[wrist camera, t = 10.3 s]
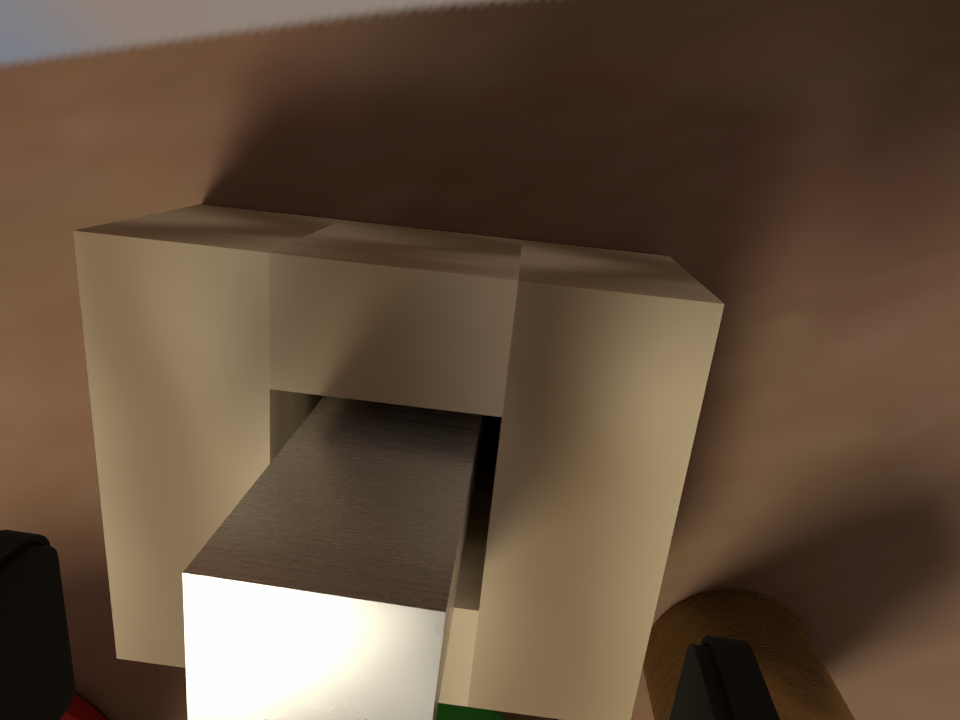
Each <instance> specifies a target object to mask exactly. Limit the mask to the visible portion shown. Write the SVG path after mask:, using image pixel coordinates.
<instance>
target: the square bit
mask: <svg viewBox="0 0 960 720" xmlns="http://www.w3.org/2000/svg"><path fill="white" fill-rule="evenodd" d="M483 420H484V415H480V414H471V413H463V412H455V411H447V410H438V409H430V408H422V407H413V406H405V405H397V404H389V403H380V402H372V401H364V400H355V399H347V398H339V397H331V396H323V398H322V399H321V400H320V401H319V403H318V404H317V405H316V406H315V408H314V409H313V410H312V411H311V413H310V414H309V415H308V416H307V418H306V419H305V420H304V421H303V423H302V424H301V425H300V426H299V428H298V429H297V430H296V431H295V433H294V434H293V435H292V437H291V438H290V439H289V440H288V442H287V443H286V444H285V445H284V447H283V448H282V449H281V450H280V452H279V453H278V454H277V455H276V457H275V458H274V459H273V460H272V462H271V463H270V464H269V465H268V467H267V468H266V469H265V470H264V472H263V473H262V474H261V475H260V477H259V478H258V479H257V480H256V482H255V483H254V484H253V485H252V487H251V488H250V489H249V490H248V492H247V493H246V494H245V495H244V497H243V498H242V499H241V500H240V502H239V503H238V504H237V505H236V507H235V508H234V509H233V510H232V512H231V513H230V514H229V515H228V517H227V518H226V519H225V520H224V522H223V523H222V524H221V525H220V527H219V528H218V529H217V530H216V532H215V533H214V534H213V535H212V537H211V538H210V539H209V540H208V542H207V543H206V544H205V545H204V547H203V548H202V549H201V550H200V552H199V553H198V554H197V555H196V557H195V558H194V559H193V560H192V562H191V563H190V564H189V565H188V567H187V568H186V569H185V570H184V572H183V601H184V631H185V660H186V690H187V719H188V720H436V715H437V709H438V703H439V697H440V691H441V685H442V679H443V673H444V667H445V661H446V655H447V649H448V642H449V636H450V630H451V624H452V618H453V612H454V606H455V600H456V594H457V588H458V582H459V576H460V569H461V563H462V557H463V551H464V545H465V539H466V533H467V527H468V521H469V515H470V509H471V503H472V496H473V490H474V484H475V478H476V472H477V465H478V457H479V450H480V442H481V435H482V427H483Z"/></svg>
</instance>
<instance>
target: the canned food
mask: <svg viewBox="0 0 960 720" xmlns="http://www.w3.org/2000/svg"><path fill="white" fill-rule="evenodd" d="M60 720H106V719H105V717H104V716H103V715H102V714H101V713H99V712H98V711H97V710H96V709H95V708H94V707H93V706H92V705H91V704H90V703H89V702H87V701H86V700H84V699H83V698H81V697H80V696H78V695H77V694H75V693H74V696H73V699H72V701H71V704H70V706H69V707H68V709H67V711H66V712H65V714H64V715H63V716H62V717H61V719H60Z"/></svg>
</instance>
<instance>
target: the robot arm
mask: <svg viewBox="0 0 960 720" xmlns="http://www.w3.org/2000/svg"><path fill="white" fill-rule="evenodd" d="M74 691H75V682H74V675H73V667H72V659H71V652H70V644H69V636H68V628H67V621H66V613H65V605H64V598H63V590H62V582H61V575H60V567H59V559H58V554H57V551H56V550H55V549H54V548H53V547H51V546H50V543H49V540H48V539H47V538H46V537H45V536H42V535H38V534H31V533H25V532H18V531H11V530H1V531H0V720H60V719H61V717H62V716H63V715H64V714H65V712H66V711H67V709H68V707H69V706H70V704H71V701H72V699H73V696H74ZM669 720H780V718H779V716H778V713H777V711H776V708H775V705H774V703H773V700H772V698H771V695H770V693H769V690H768V688H767V685H766V683H765V680H764V678H763V675H762V672H761V670H760V667H759V665H758V662H757V660H756V657H755V655H754V652H753V650H752V648H751V646H750V644H749V643H748V642H747V641H743V640H736V639H730V638H723V637H716V636H710V635H706V636H704V637H703V639H702V641H701V643H700V645H696V644H690V645H689V646H688V648H687V651H686V655H685V659H684V663H683V667H682V671H681V675H680V679H679V683H678V687H677V691H676V695H675V698H674V702H673V706H672V710H671V714H670V718H669Z"/></svg>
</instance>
